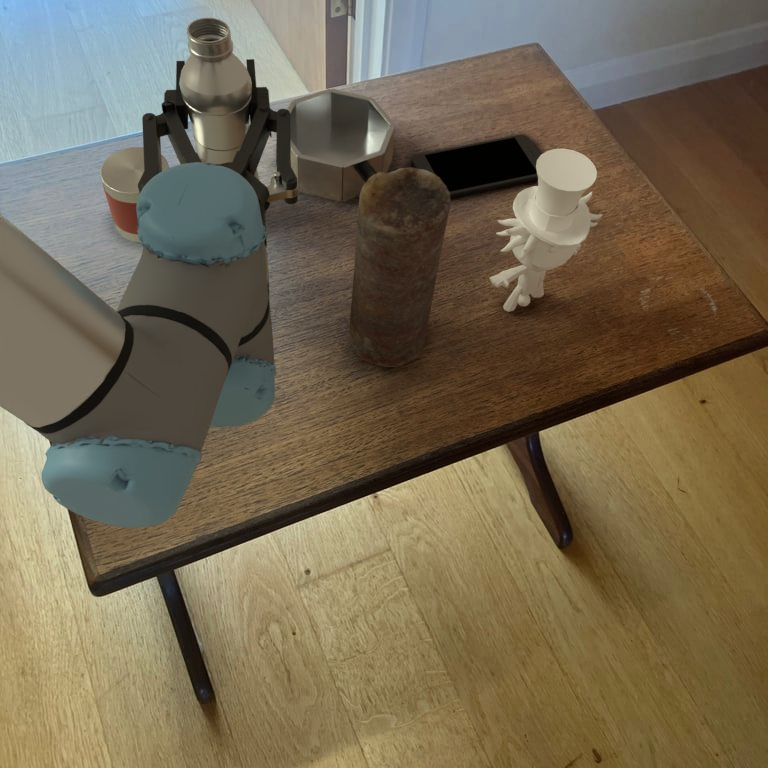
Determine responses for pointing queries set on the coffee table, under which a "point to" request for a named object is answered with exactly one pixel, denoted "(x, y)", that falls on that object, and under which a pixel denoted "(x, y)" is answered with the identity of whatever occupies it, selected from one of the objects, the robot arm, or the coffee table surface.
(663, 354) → the coffee table surface
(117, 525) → the robot arm
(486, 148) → the smartphone
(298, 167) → the saucepan
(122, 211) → the tin can
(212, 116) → the metal bottle
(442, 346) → the coffee table surface
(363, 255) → the candle
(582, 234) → the figurine
